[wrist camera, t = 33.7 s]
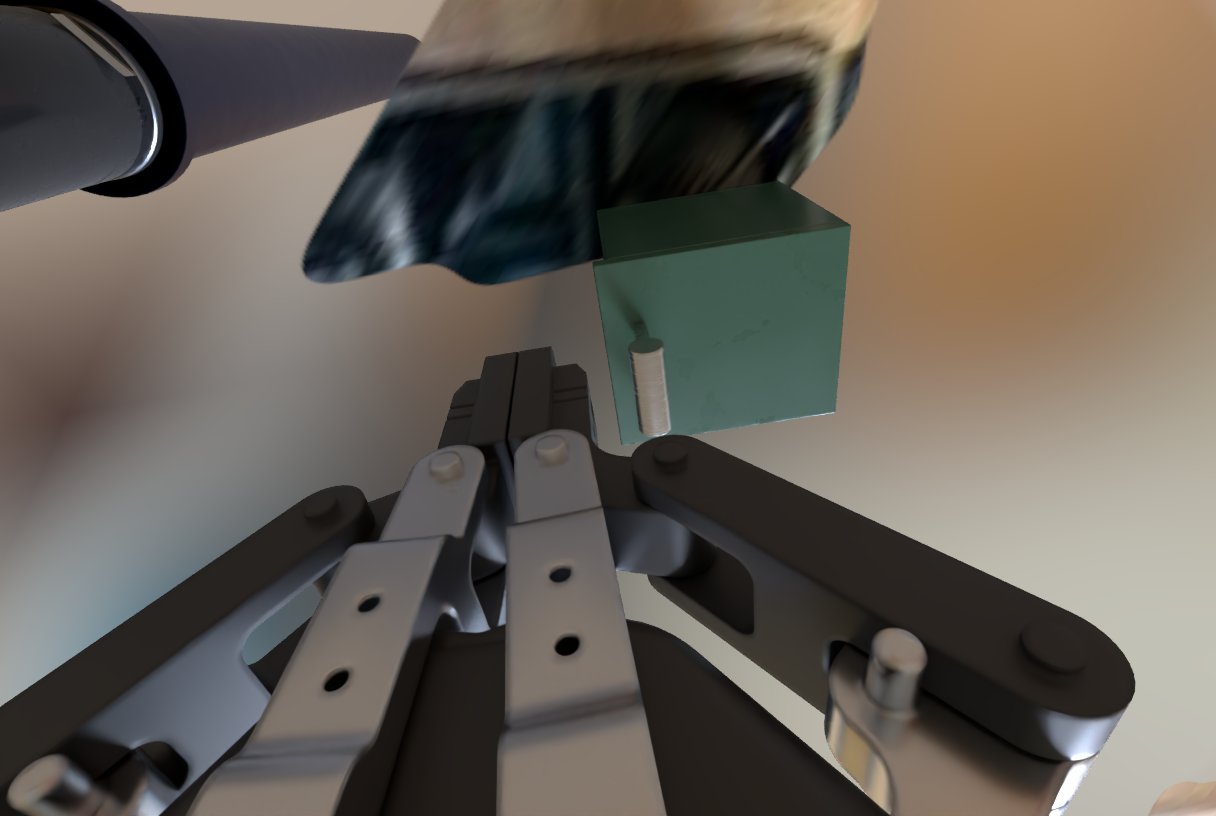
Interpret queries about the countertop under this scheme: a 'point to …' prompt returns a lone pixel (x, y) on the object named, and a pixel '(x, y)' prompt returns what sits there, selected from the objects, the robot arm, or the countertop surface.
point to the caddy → (706, 219)
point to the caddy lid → (725, 331)
